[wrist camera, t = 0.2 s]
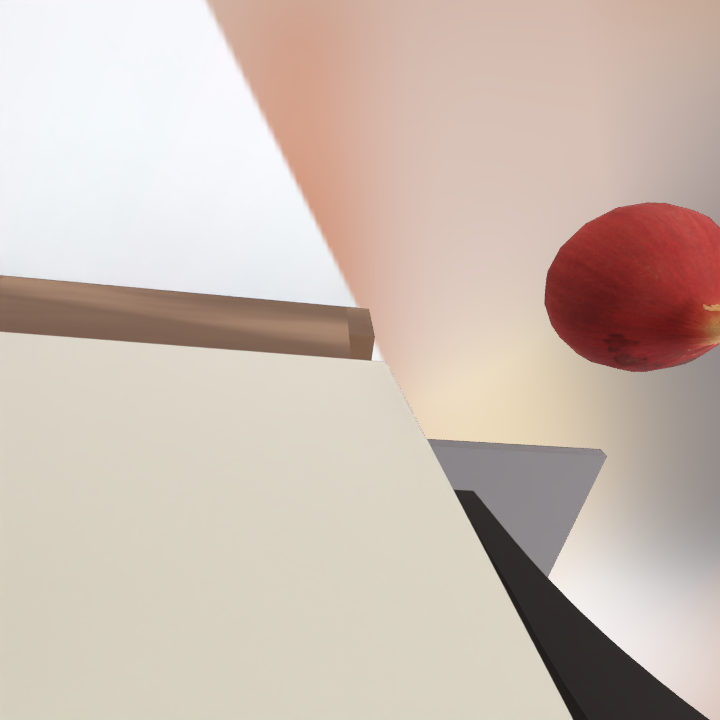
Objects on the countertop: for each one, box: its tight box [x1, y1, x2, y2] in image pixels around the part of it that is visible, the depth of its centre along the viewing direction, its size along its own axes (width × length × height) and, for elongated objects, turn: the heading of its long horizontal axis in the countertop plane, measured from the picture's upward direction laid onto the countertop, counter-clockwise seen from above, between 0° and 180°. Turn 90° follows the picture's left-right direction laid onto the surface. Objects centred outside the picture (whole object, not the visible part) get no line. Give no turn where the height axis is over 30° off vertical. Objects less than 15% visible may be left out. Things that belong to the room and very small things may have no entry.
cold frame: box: [0, 275, 375, 361], centre depth 19 cm, size 16×16×6 cm
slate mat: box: [427, 439, 607, 578], centre depth 25 cm, size 12×12×1 cm
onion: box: [545, 203, 720, 372], centre depth 15 cm, size 6×6×8 cm
